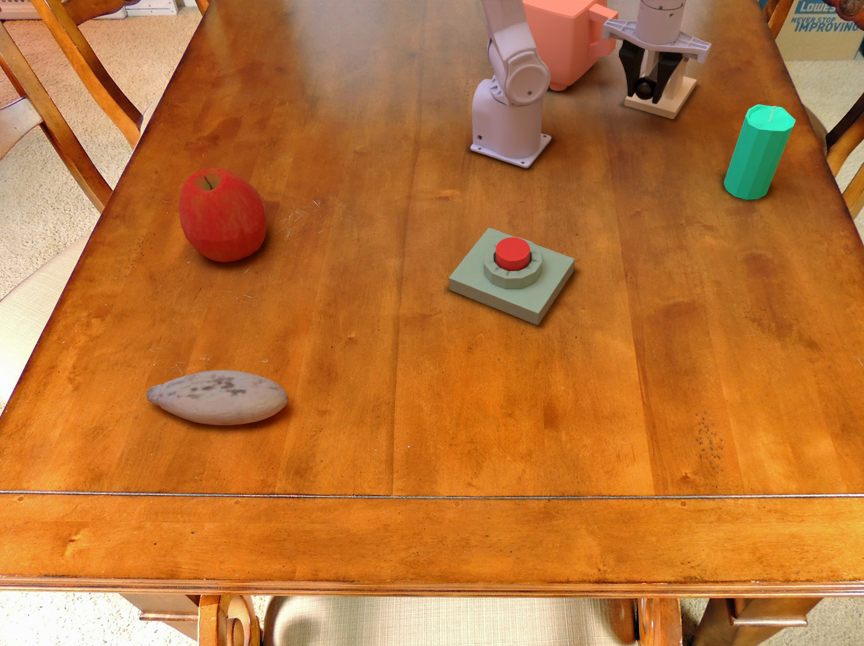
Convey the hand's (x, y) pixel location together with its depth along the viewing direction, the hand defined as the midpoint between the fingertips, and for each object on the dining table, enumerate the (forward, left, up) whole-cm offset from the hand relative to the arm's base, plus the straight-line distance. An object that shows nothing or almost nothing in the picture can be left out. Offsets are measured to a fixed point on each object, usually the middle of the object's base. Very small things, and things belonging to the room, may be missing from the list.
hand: (644, 97), depth 98 cm
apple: (-37, -48, -5) cm, 61 cm away
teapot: (-19, +8, -5) cm, 21 cm away
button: (-2, -37, -1) cm, 37 cm away
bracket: (0, +9, -5) cm, 10 cm away
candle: (+18, -6, -5) cm, 20 cm away
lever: (0, +5, 0) cm, 5 cm away
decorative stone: (-21, -68, -5) cm, 71 cm away
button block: (-2, -37, -5) cm, 37 cm away
